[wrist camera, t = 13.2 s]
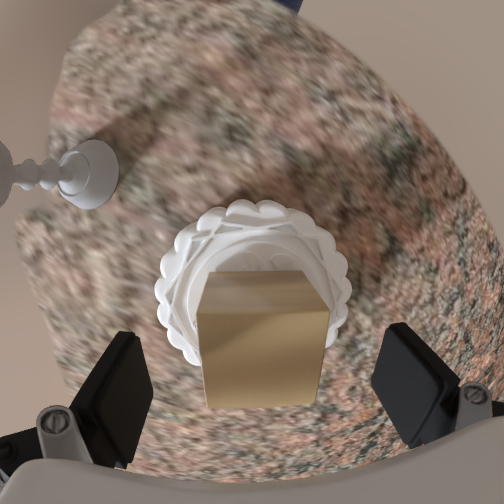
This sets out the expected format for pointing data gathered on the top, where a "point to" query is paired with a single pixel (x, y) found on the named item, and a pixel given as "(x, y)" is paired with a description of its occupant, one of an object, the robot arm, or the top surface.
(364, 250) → the top surface
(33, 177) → the chalice
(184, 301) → the mooncake
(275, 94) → the top surface
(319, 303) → the block
